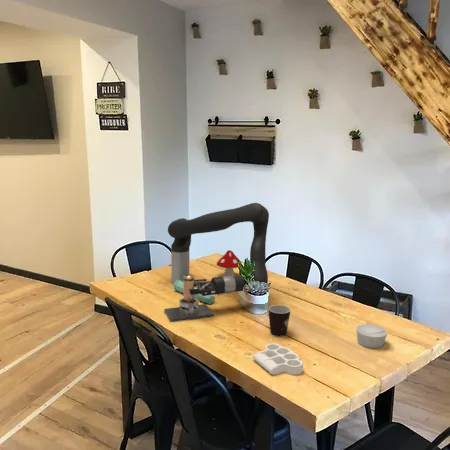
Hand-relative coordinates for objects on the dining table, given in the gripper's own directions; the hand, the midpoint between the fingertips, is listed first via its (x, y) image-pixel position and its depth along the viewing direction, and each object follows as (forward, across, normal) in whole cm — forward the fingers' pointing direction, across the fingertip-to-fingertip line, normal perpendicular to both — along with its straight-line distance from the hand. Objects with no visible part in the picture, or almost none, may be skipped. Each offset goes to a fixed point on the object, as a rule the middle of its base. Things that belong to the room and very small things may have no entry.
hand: (187, 288), depth 203 cm
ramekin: (-59, +48, +12) cm, 77 cm away
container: (-9, -19, +12) cm, 24 cm away
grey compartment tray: (-19, +51, +12) cm, 56 cm away
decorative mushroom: (-34, -42, +12) cm, 56 cm away
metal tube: (-1, 0, +10) cm, 10 cm away
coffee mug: (-31, +29, +12) cm, 44 cm away
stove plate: (-1, 0, +12) cm, 12 cm away
